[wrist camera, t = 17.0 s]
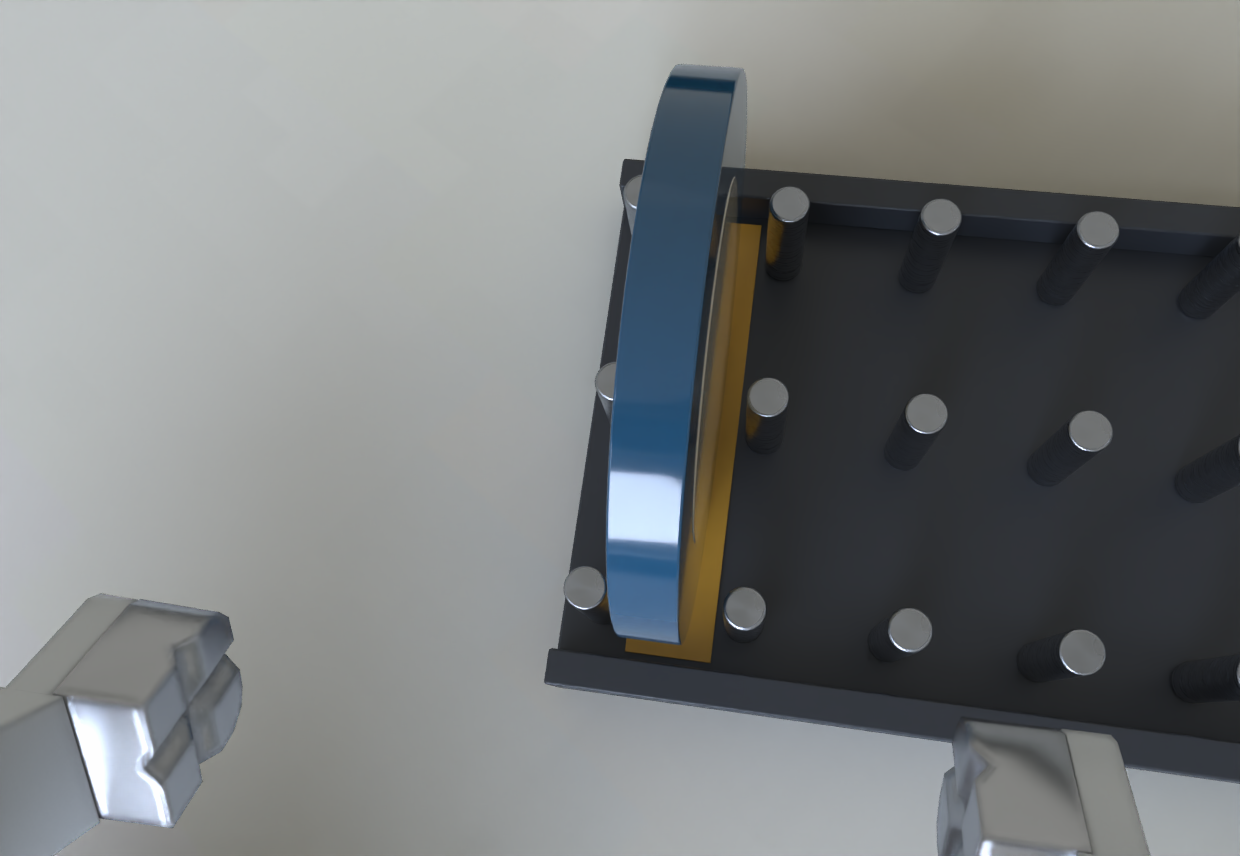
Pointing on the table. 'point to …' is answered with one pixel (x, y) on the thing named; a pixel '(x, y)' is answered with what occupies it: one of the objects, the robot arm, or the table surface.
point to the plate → (674, 352)
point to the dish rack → (956, 472)
